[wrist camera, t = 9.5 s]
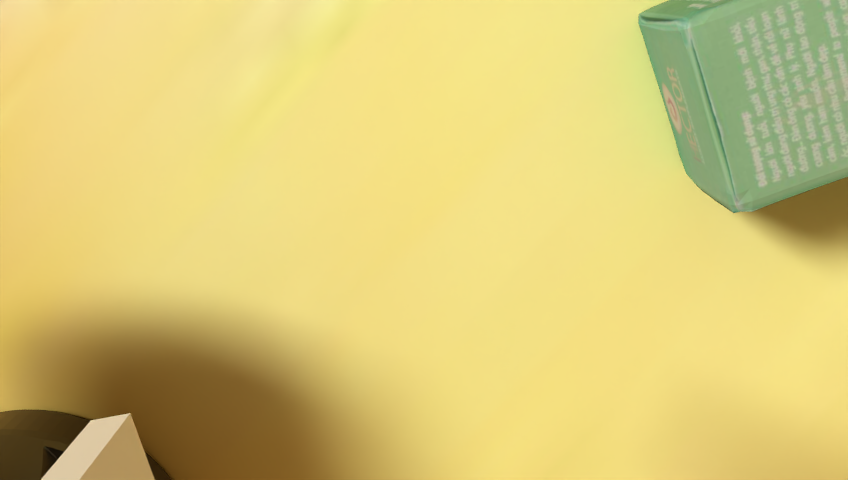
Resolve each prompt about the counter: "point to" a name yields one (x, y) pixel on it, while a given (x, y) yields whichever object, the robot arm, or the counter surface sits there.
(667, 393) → the counter surface
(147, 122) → the counter surface
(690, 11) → the box
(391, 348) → the counter surface
